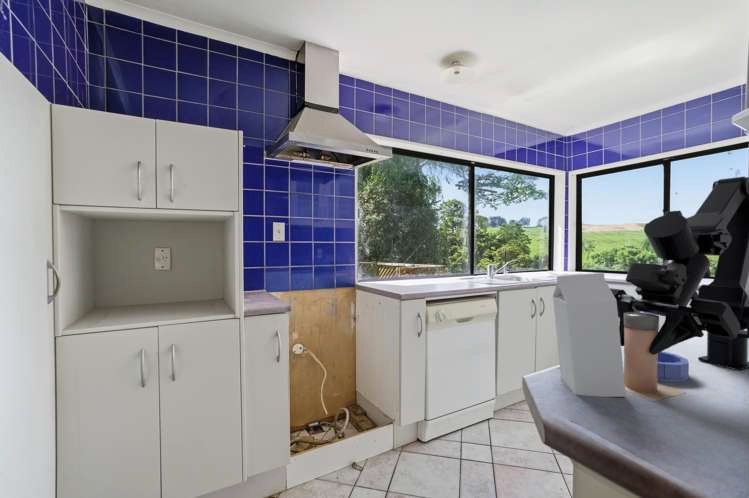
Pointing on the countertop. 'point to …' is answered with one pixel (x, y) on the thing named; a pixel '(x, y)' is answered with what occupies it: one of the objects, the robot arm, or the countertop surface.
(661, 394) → the cork mat
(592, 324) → the milk carton
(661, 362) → the bowl
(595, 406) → the countertop surface
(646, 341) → the spice jar
